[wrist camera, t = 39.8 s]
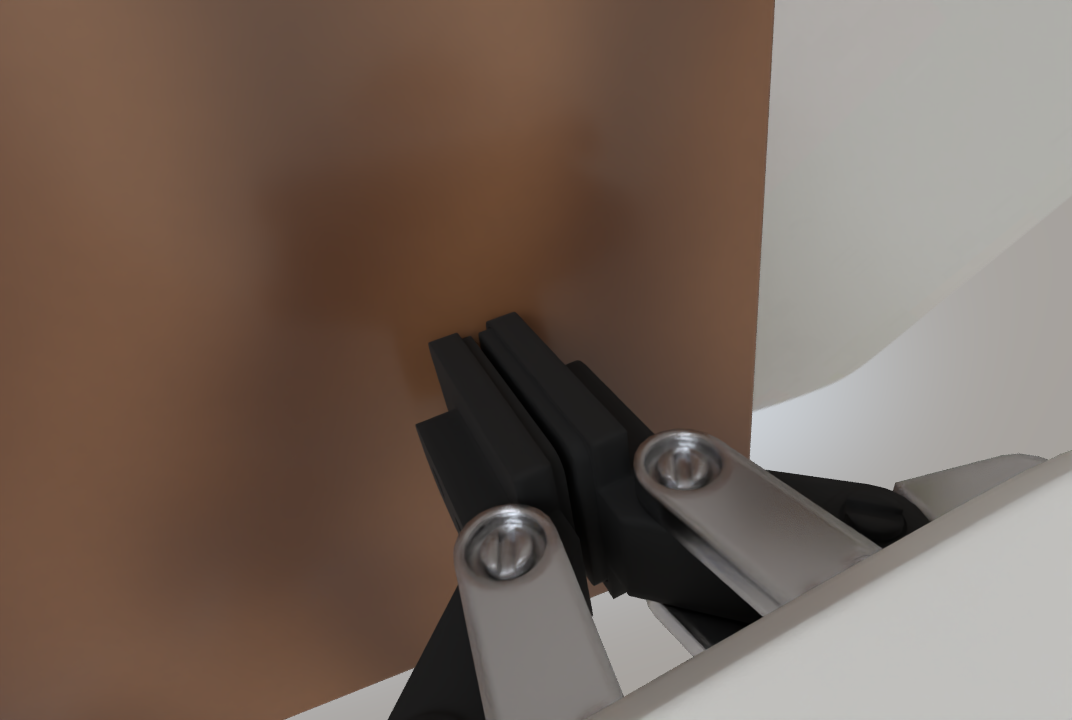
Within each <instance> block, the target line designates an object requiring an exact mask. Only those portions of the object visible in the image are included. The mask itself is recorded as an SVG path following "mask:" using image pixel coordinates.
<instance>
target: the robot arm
mask: <svg viewBox="0 0 1072 720" xmlns="http://www.w3.org/2000/svg"><path fill="white" fill-rule="evenodd" d="M478 336H479V342H480V346H481V349H480V347H479V346H478V345H477V343H476V342H475V341H474V339H473V338H472V337H471V336H468V337H465V338H463V339H462V338H461V337H460V335H459V334H458V333H454V334H451V335H448V336H445V337H442V338H440V339H437V340H434V341H431V342H429V343H428V346H429V350H430V354H431V357H432V360H433V364H434V367H435V370H436V373H437V377H438V380H439V383H440V386H441V390H442V393H443V396H444V399H445V403H446V406H447V409H448V412H445V413H443V414H440V415H438V416H435V417H433V418H430V419H428V420H425V421H423V422H420V423H418V424H415V426H416V430H417V433H418V436H419V439H420V441H421V444H422V447H423V450H424V453H425V456H426V458H427V461H428V464H429V466H430V469H431V472H432V474H433V477H434V479H435V482H436V484H437V487H438V489H439V491H440V494H441V496H442V498H443V501H444V503H445V505H446V507H447V510H448V512H449V514H450V516H451V519H452V521H453V523H454V525H455V528H456V530H457V532H458V537H457V539H456V542H455V545H454V548H453V562H454V567H455V572H456V577H457V582H458V585H457V587H456V589H455V591H454V593H453V595H452V597H451V599H450V601H449V603H448V605H447V607H446V609H445V610H444V612H443V614H442V616H441V618H440V620H439V622H438V624H437V626H436V628H435V630H434V632H433V634H432V635H431V637H430V639H429V641H428V643H427V645H426V647H425V649H424V651H423V653H422V655H421V657H420V659H419V661H418V662H417V664H416V666H415V668H414V670H413V672H412V674H411V676H410V678H409V680H408V682H407V684H406V686H405V687H404V689H403V692H402V693H401V695H400V697H399V699H398V701H397V703H396V705H395V707H394V709H393V711H392V712H391V714H390V716H389V719H388V720H1072V450H1071V451H1068V452H1065V453H1063V454H1060V455H1058V456H1056V457H1054V458H1051V459H1049V460H1048V459H1045V458H1042V457H1039V456H1032V455H1025V454H1011V455H1002V456H998V457H994V458H991V459H986V460H982V461H978V462H975V463H971V464H967V465H963V466H959V467H955V468H952V469H947V470H943V471H939V472H935V473H932V474H928V475H924V476H920V477H916V478H912V479H908V480H904V481H900V482H896V483H895V486H894V490H893V491H891V490H888V489H886V488H882V487H878V486H873V485H869V484H862V483H855V482H848V481H840V480H834V479H827V478H820V477H813V476H806V475H799V474H792V473H785V472H777V471H770V470H764V469H763V468H761V467H760V466H758V465H757V464H755V463H754V462H752V461H751V460H749V459H748V458H746V457H745V456H743V455H742V454H740V453H739V452H737V451H736V450H734V449H733V448H732V447H730V446H729V445H727V444H726V443H724V442H723V441H721V440H720V439H718V438H716V437H714V436H712V435H710V434H708V433H706V432H702V431H698V430H694V429H680V428H676V429H670V430H665V431H661V432H659V433H656V434H654V433H653V432H652V431H651V430H650V429H649V428H648V427H647V426H646V425H645V424H644V423H643V422H642V421H641V420H640V419H639V418H638V417H637V416H636V415H635V414H634V413H633V412H632V411H631V410H630V409H629V408H628V407H627V406H626V405H625V404H624V403H623V402H622V401H621V400H620V399H619V398H618V397H617V396H616V395H615V394H614V393H613V392H612V391H611V390H610V389H609V388H608V387H607V386H606V385H605V384H604V383H603V382H602V381H601V380H600V379H599V378H598V377H597V376H596V375H595V374H594V373H593V372H592V371H591V370H590V369H589V367H588V366H587V365H586V364H584V363H583V362H582V361H579V360H576V361H573V362H571V363H568V364H566V365H565V364H564V363H563V362H562V361H561V360H560V359H559V358H558V357H557V356H556V354H555V353H554V352H553V351H552V350H551V349H550V348H549V347H548V346H547V345H546V344H545V343H544V342H543V341H542V340H541V338H540V337H539V336H538V335H537V334H536V333H535V332H534V331H533V330H532V329H531V328H530V327H529V326H528V325H527V324H526V322H525V321H524V320H523V319H522V318H521V317H520V316H519V315H518V314H517V313H516V312H511V313H509V314H506V315H503V316H500V317H498V318H495V319H492V320H489V321H487V322H486V330H484V331H482V332H479V334H478ZM586 577H587V578H588V580H589V581H590V583H591V584H592V585H593V586H596V585H598V584H600V583H602V582H603V584H604V585H605V587H606V588H607V590H608V591H609V593H610V594H611V596H612V597H613V599H614V598H616V597H618V596H620V595H622V594H624V593H626V592H627V594H628V595H629V596H633V597H637V598H641V599H646V601H647V604H648V607H649V608H650V610H651V611H652V613H653V614H654V615H655V617H656V618H657V619H658V620H659V621H660V622H661V623H662V624H663V625H664V626H665V627H666V628H667V629H668V630H669V632H670V633H671V634H672V635H673V636H674V637H675V638H676V639H677V640H678V641H679V642H680V643H681V644H682V645H683V646H684V647H685V649H686V650H687V651H688V652H689V653H690V654H691V655H692V656H693V658H691V659H689V660H687V661H686V662H684V663H682V664H680V665H679V666H677V667H675V668H673V669H672V670H670V671H668V672H666V673H665V674H663V675H661V676H659V677H658V678H656V679H654V680H652V681H651V682H649V683H647V684H646V685H644V686H642V687H640V688H639V689H637V690H635V691H633V692H632V693H630V694H628V695H627V696H625V697H624V696H623V693H622V691H621V688H620V686H619V683H618V681H617V678H616V676H615V673H614V671H613V668H612V666H611V663H610V661H609V658H608V656H607V654H606V651H605V648H604V646H603V644H602V641H601V639H600V636H599V634H598V631H597V628H596V626H595V624H594V621H593V619H592V616H593V612H592V606H591V601H590V595H589V589H588V584H587V578H586Z"/></svg>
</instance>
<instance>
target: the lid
mask: <svg viewBox="0 0 1072 720" xmlns="http://www.w3.org/2000/svg"><path fill="white" fill-rule="evenodd" d="M774 8H775V0H0V720H284V719H287V718H290V717H292V716H295V715H297V714H300V713H302V712H305V711H307V710H310V709H312V708H314V707H317V706H320V705H322V704H325V703H327V702H330V701H332V700H335V699H337V698H340V697H342V696H345V695H347V694H350V693H352V692H355V691H357V690H360V689H363V688H365V687H368V686H370V685H372V684H375V683H378V682H380V681H383V680H385V679H387V678H390V677H393V676H395V675H398V674H400V673H403V672H405V671H408V670H410V669H413V668H415V666H416V664H417V662H418V661H419V659H420V657H421V655H422V653H423V651H424V649H425V647H426V645H427V643H428V641H429V639H430V637H431V635H432V634H433V632H434V630H435V628H436V626H437V624H438V622H439V620H440V618H441V616H442V614H443V612H444V610H445V609H446V607H447V605H448V603H449V601H450V599H451V597H452V595H453V593H454V591H455V589H456V587H457V585H458V582H457V577H456V572H455V567H454V562H453V548H454V545H455V542H456V539H457V537H458V532H457V530H456V528H455V525H454V523H453V521H452V519H451V516H450V514H449V512H448V510H447V507H446V505H445V503H444V501H443V498H442V496H441V494H440V491H439V489H438V487H437V484H436V482H435V479H434V477H433V474H432V472H431V469H430V466H429V464H428V461H427V458H426V456H425V453H424V450H423V447H422V444H421V441H420V439H419V436H418V433H417V430H416V426H415V424H418V423H420V422H423V421H425V420H428V419H430V418H433V417H435V416H438V415H440V414H443V413H445V412H448V409H447V406H446V403H445V399H444V396H443V393H442V390H441V386H440V383H439V380H438V377H437V373H436V370H435V367H434V364H433V360H432V357H431V354H430V350H429V346H428V343H429V342H431V341H434V340H437V339H440V338H442V337H445V336H448V335H451V334H454V333H458V334H459V335H460V337H461V338H462V339H463V338H465V337H468V336H471V337H472V338H473V339H474V341H475V342H476V343H477V345H478V346H479V347H480V349H481V346H480V342H479V336H478V334H479V332H482V331H484V330H486V322H487V321H489V320H492V319H495V318H498V317H500V316H503V315H506V314H509V313H511V312H516V313H517V314H518V315H519V316H520V317H521V318H522V319H523V320H524V321H525V322H526V324H527V325H528V326H529V327H530V328H531V329H532V330H533V331H534V332H535V333H536V334H537V335H538V336H539V337H540V338H541V340H542V341H543V342H544V343H545V344H546V345H547V346H548V347H549V348H550V349H551V350H552V351H553V352H554V353H555V354H556V356H557V357H558V358H559V359H560V360H561V361H562V362H563V363H564V364H565V365H566V364H568V363H571V362H573V361H576V360H579V361H582V362H583V363H584V364H586V365H587V366H588V367H589V369H590V370H591V371H592V372H593V373H594V374H595V375H596V376H597V377H598V378H599V379H600V380H601V381H602V382H603V383H604V384H605V385H606V386H607V387H608V388H609V389H610V390H611V391H612V392H613V393H614V394H615V395H616V396H617V397H618V398H619V399H620V400H621V401H622V402H623V403H624V404H625V405H626V406H627V407H628V408H629V409H630V410H631V411H632V412H633V413H634V414H635V415H636V416H637V417H638V418H639V419H640V420H641V421H642V422H643V423H644V424H645V425H646V426H647V427H648V428H649V429H650V430H651V431H652V432H653V433H654V434H656V433H659V432H661V431H665V430H670V429H676V428H680V429H694V430H698V431H702V432H706V433H708V434H710V435H712V436H714V437H716V438H718V439H720V440H721V441H723V442H724V443H726V444H727V445H729V446H730V447H732V448H733V449H734V450H736V451H737V452H739V453H740V454H742V455H743V456H745V457H746V458H748V459H749V460H750V441H751V424H752V406H753V388H754V370H755V352H756V333H757V315H758V297H759V279H760V261H761V243H762V225H763V207H764V189H765V171H766V153H767V135H768V117H769V99H770V80H771V62H772V44H773V26H774ZM586 578H587V577H586ZM587 584H588V589H589V595H590V598H591V597H594V596H596V595H599V594H602V593H604V592H607V591H608V590H607V588H606V587H605V585H604V584H603V582H602V583H600V584H598V585H596V586H593V585H592V584H591V583H590V581H589V580H588V578H587Z"/></svg>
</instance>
